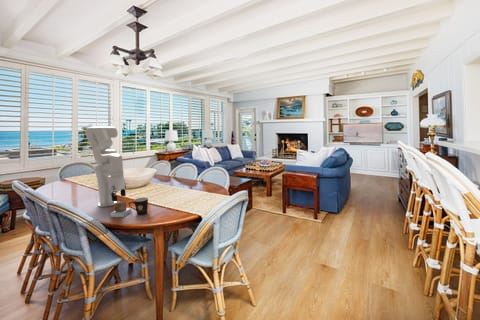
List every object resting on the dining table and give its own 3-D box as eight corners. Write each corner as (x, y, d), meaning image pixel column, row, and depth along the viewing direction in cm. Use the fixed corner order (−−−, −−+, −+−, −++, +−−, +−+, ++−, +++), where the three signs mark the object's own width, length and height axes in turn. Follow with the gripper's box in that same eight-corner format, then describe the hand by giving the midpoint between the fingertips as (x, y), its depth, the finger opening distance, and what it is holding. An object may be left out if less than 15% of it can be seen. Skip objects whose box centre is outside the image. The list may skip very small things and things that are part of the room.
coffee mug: (151, 211, 156) (150, 197, 155) (143, 216, 148) (142, 201, 147) (137, 210, 160) (136, 196, 158) (128, 215, 152) (127, 200, 150)
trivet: (110, 216, 149) (110, 213, 148) (118, 211, 158) (118, 208, 157) (123, 217, 148) (123, 213, 148) (131, 211, 157) (130, 208, 157)
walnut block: (115, 211, 150) (114, 203, 149) (119, 209, 155) (118, 200, 154) (122, 211, 150) (121, 203, 149) (126, 209, 155) (125, 200, 154)
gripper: (119, 170, 158) (121, 194, 161) (102, 176, 141) (105, 203, 144) (129, 170, 157) (131, 194, 160) (114, 177, 140) (116, 203, 143)
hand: (119, 198), depth 152 cm, fingers open, 9 cm apart
